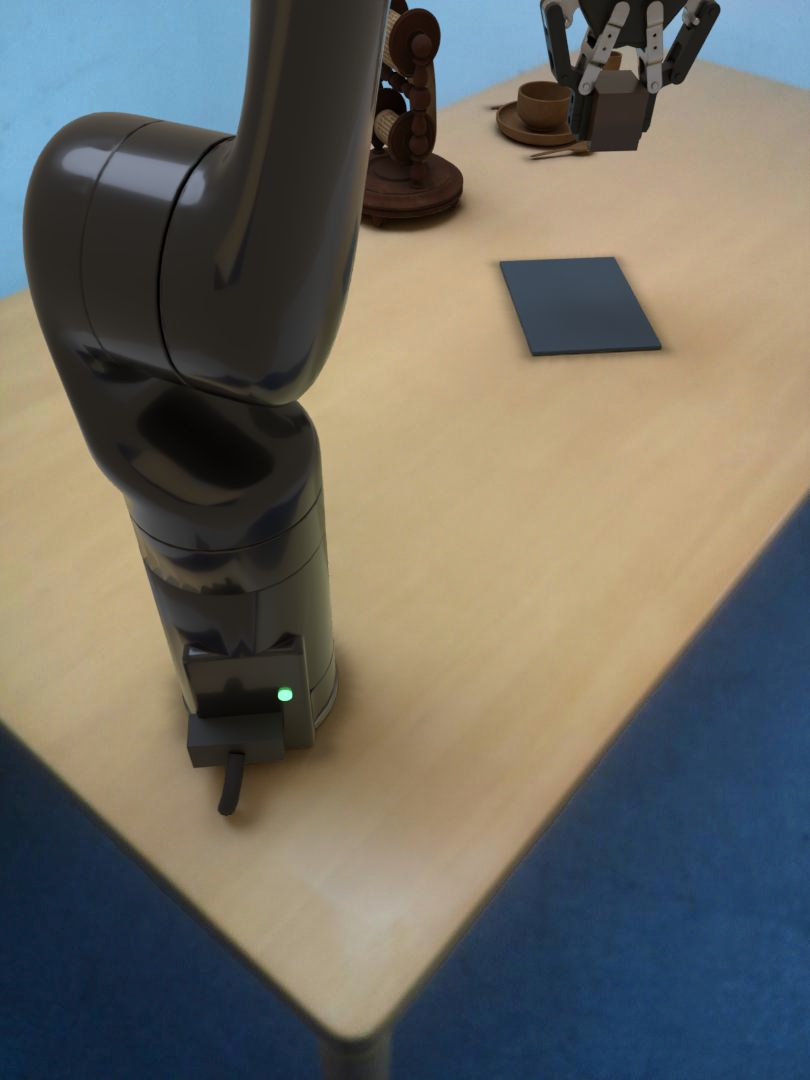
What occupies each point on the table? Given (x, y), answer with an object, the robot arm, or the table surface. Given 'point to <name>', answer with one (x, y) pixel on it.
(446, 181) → the brown wooden upright stand
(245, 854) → the table surface
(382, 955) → the table surface
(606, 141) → the walnut block
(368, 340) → the table surface
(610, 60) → the place setting
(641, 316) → the grey mat
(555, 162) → the table surface
